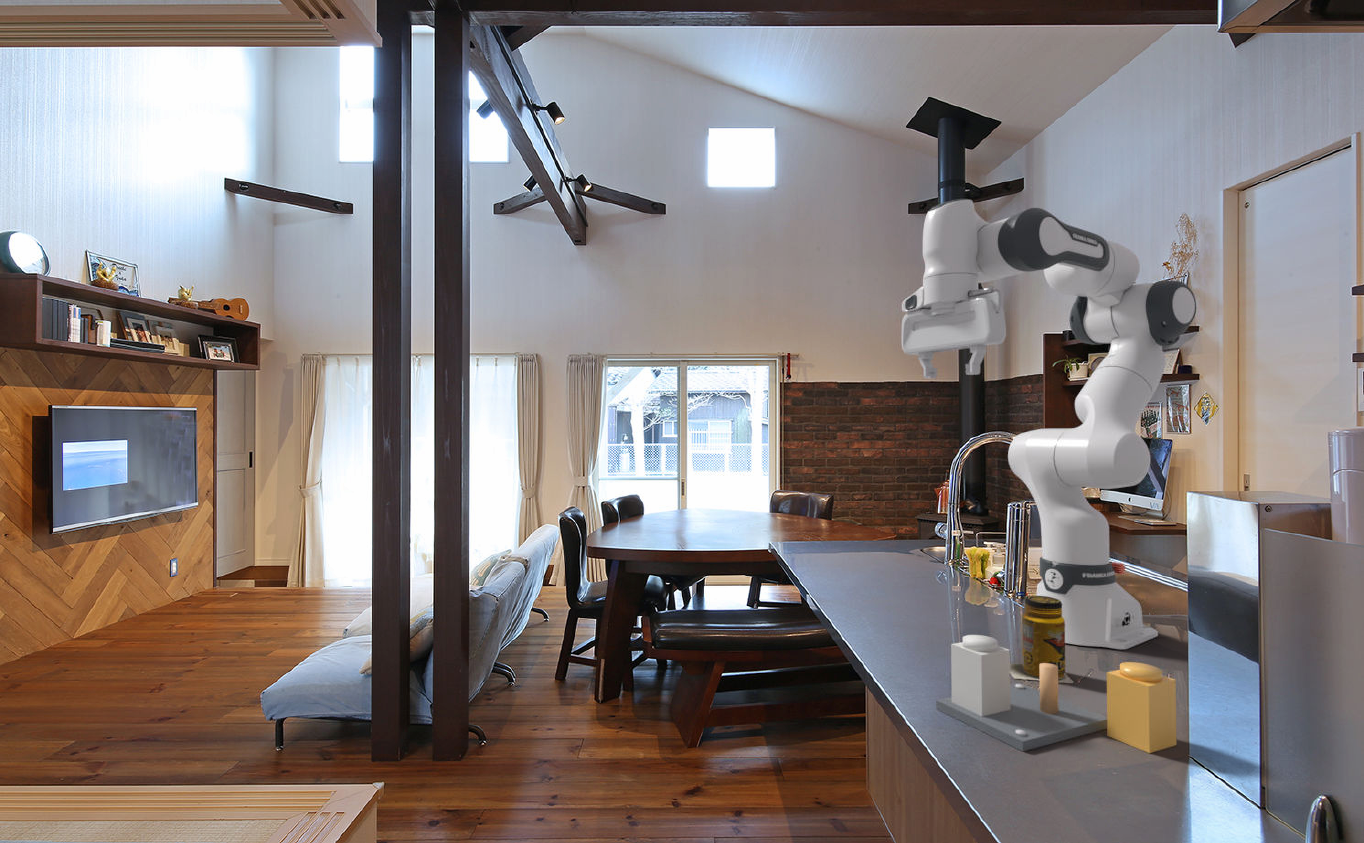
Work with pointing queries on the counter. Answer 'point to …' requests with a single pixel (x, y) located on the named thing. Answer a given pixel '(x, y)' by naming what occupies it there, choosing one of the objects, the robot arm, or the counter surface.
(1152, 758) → the counter surface
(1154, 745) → the yellow knob block
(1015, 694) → the plate
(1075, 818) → the counter surface
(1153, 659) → the counter surface
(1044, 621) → the condiment
